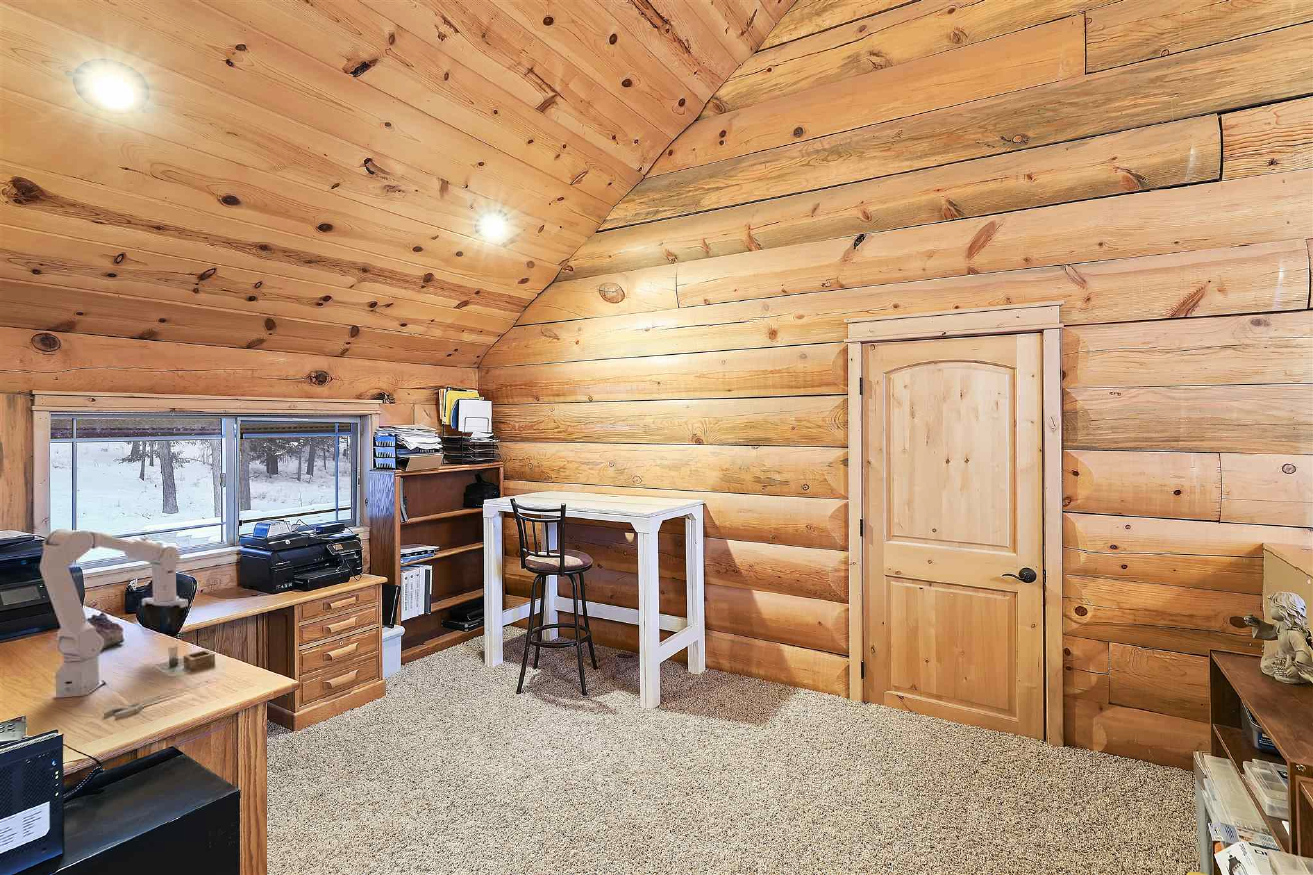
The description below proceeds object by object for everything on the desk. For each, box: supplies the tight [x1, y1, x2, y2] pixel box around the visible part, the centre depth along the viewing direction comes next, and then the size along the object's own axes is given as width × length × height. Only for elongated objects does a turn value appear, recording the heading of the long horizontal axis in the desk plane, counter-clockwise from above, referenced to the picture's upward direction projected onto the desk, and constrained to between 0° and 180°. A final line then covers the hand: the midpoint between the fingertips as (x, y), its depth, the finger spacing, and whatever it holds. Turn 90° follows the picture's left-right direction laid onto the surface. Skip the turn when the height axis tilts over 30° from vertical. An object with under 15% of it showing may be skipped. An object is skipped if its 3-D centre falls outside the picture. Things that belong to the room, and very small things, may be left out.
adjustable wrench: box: [103, 678, 218, 720], centre depth 171 cm, size 25×6×2 cm, turn 145°
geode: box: [86, 611, 125, 650], centre depth 214 cm, size 20×12×10 cm, turn 52°
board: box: [153, 661, 219, 678], centre depth 193 cm, size 14×12×1 cm
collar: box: [182, 649, 216, 673], centre depth 192 cm, size 6×6×3 cm
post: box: [155, 645, 184, 670], centre depth 194 cm, size 7×7×5 cm
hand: (165, 629), depth 199 cm, fingers open, 7 cm apart
